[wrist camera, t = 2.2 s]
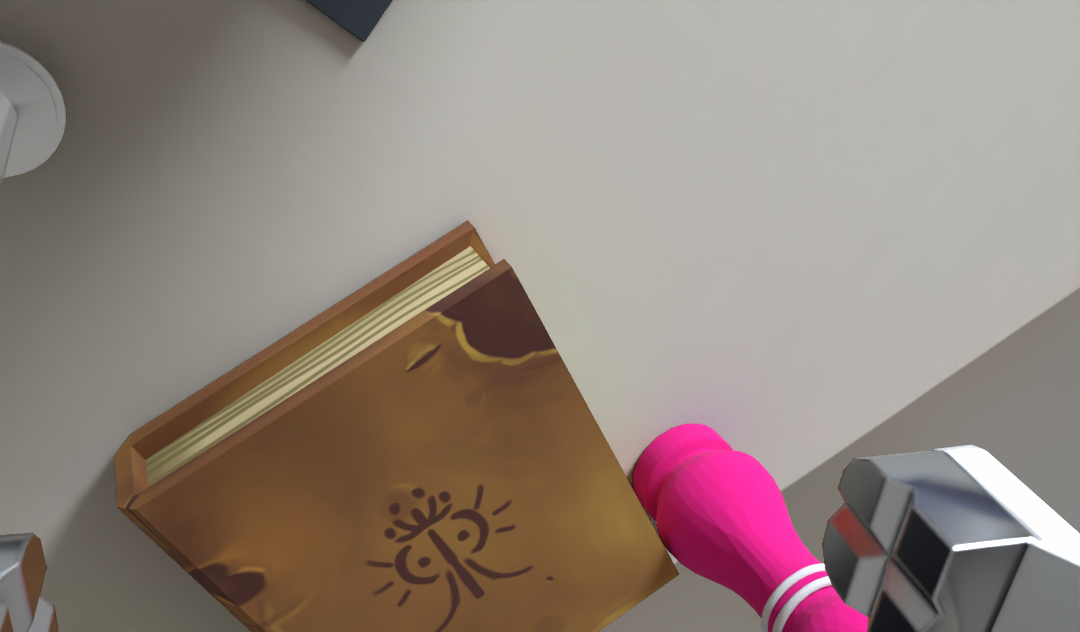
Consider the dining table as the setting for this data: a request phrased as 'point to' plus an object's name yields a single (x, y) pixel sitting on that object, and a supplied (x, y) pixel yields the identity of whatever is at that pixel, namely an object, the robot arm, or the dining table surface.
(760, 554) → the pepper mill
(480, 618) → the diary
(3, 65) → the screw
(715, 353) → the dining table surface
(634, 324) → the dining table surface
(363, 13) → the mat
